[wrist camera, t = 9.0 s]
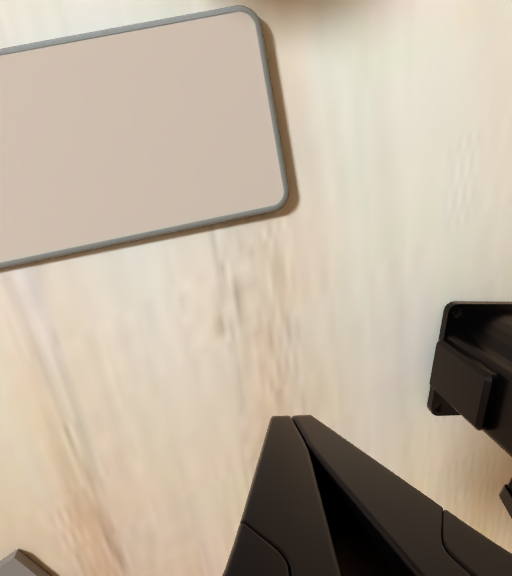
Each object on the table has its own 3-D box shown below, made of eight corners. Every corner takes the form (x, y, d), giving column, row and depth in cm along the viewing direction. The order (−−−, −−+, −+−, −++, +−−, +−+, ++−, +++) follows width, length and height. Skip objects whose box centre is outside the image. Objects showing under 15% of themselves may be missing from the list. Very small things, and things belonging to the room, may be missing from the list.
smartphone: (-131, 69, 16) (258, -1, 16) (-111, 75, 17) (255, 8, 17) (-43, 279, 18) (293, 208, 19) (-30, 273, 19) (289, 206, 20)
